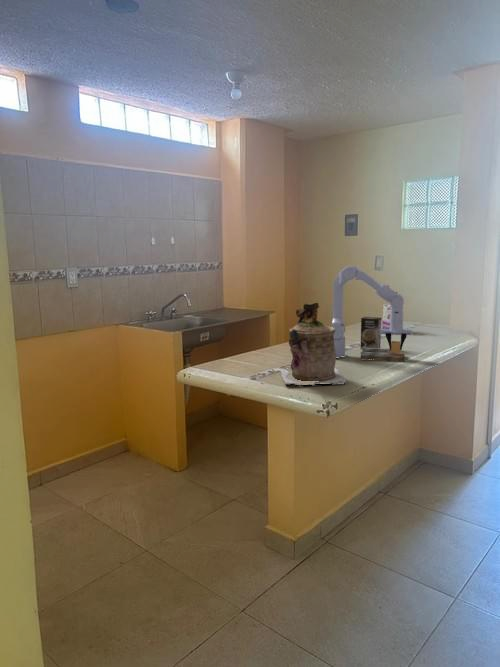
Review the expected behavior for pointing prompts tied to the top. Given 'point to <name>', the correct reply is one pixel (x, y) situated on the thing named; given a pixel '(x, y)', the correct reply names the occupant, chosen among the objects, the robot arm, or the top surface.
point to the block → (395, 346)
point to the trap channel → (382, 354)
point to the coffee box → (370, 332)
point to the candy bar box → (386, 316)
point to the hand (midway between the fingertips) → (395, 349)
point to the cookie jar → (312, 350)
